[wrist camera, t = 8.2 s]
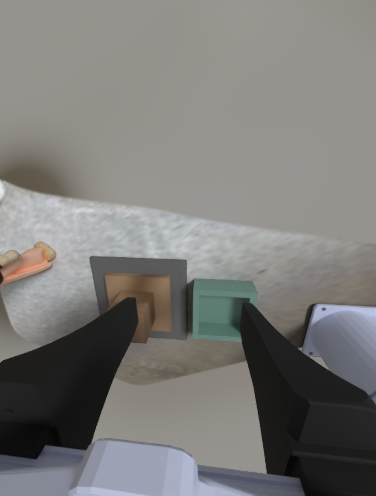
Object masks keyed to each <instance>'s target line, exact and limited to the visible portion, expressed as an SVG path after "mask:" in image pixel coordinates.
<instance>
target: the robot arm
mask: <svg viewBox="0 0 376 496" xmlns="http://www.w3.org/2000/svg"><path fill="white" fill-rule="evenodd" d="M322 308H323V309H322ZM138 322H139V320H138V312H137V304H136V297H127V298H125V299H124V300H122V301H121V302H119V303H118V304H117V305H115V306H114V307H112V308H111V309H110V310H108V311H107V312H105V313H104V314H103V315H101V316H99V317H98V318H96V319H95V320H93V321H92V322H90V323H89V324H87V325H85V326H84V327H82V328H80V329H78V330H76V331H75V332H73V333H71V334H69V335H67V336H65V337H63V338H60V339H58V340H56V341H54V342H52V343H50V344H47V345H45V346H42V347H40V348H37V349H35V350H32V351H29V352H27V353H24V354H21V355H18V356H15V357H12V358H9V359H6V360H3V361H2V362H1V363H0V496H376V307H367V306H349V305H331V304H316V305H314V307H313V310H312V314H311V318H310V322H309V325H308V329H307V333H306V336H305V340H304V344H303V348H302V352H301V351H300V350H299V349H298V348H296V347H295V346H294V345H293V344H291V343H290V342H289V341H288V340H287V339H286V338H284V337H283V336H282V335H281V334H280V333H279V332H278V331H277V330H276V329H275V328H274V327H273V326H272V325H271V324H270V323H269V322H268V321H267V320H266V318H265V317H264V316H263V315H262V314H261V313H260V312H259V311H258V309H257V308H256V307H255V306H254V305H253V304H252V303H242V312H241V321H240V333H241V339H242V345H243V349H244V352H245V356H246V360H247V363H248V367H249V371H250V375H251V378H252V383H253V386H254V393H255V398H256V404H257V410H258V415H259V422H260V428H261V435H262V441H263V448H264V455H265V462H266V470H267V474H263V473H255V472H248V471H240V470H233V469H225V468H217V467H209V466H202V465H196V462H195V460H194V458H193V457H192V456H191V455H190V454H189V453H187V452H186V451H184V450H183V449H180V448H177V447H173V446H169V445H160V444H153V443H144V442H136V441H128V440H120V439H110V438H109V439H99V440H97V441H95V442H94V443H92V444H91V442H92V439H93V436H94V432H95V429H96V426H97V423H98V420H99V417H100V414H101V411H102V409H103V406H104V403H105V400H106V397H107V395H108V392H109V389H110V386H111V384H112V381H113V379H114V376H115V374H116V371H117V369H118V367H119V365H120V363H121V361H122V359H123V357H124V355H125V353H126V351H127V349H128V347H129V345H130V343H131V341H132V339H133V336H134V334H135V331H136V328H137V325H138ZM308 356H315V357H322V359H323V360H324V362H325V363H326V365H327V366H328V368H329V370H330V371H329V370H327V369H326V368H324V367H322V366H321V365H320V364H318V363H317V362H315V361H314V360H312V359H311V358H310V357H308Z"/></svg>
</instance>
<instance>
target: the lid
mask: <svg viewBox="0 0 376 496" xmlns="http://www.w3.org/2000/svg"><path fill="white" fill-rule="evenodd" d="M104 276H105V282H106V288H107V294H108V300H109V306H110V307H109V308H108V309H107V311H108V310H110V309H111V308H112V307H114V306H115V305H117V304H118V303H119V302H121V301H122V300H124V299H125V298H127V297H136V304H137V312H138V320H139V322H138V325H137V328H136V331H135V334H134V336H133V339H132V341H131V342H133V343H146V342H147V340H148V337H149V334H150V332H151V331H165V332H171V329H172V315H171V285H170V275H151V274H130V273H106V274H105V275H104ZM107 311H106V312H107Z"/></svg>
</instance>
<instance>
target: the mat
mask: <svg viewBox="0 0 376 496" xmlns="http://www.w3.org/2000/svg"><path fill="white" fill-rule="evenodd" d="M90 262H91V267H92V273H93V278H94V283H95V289H96V294H97V299H98V304H99V310H100V315H103V314H104V313H105V312H106V311H107V309H108V308H109V307H110V306H109V300H108V294H107V288H106V282H105V276H104V275H105V274H106V273H130V274H151V275H170V285H171V315H172V329H171V332H165V331H151V332H150V334H149V337H152V338H165V339H179V340H186V339H187V260H179V259H152V258H125V257H99V256H91V257H90Z"/></svg>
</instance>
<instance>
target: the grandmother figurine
mask: <svg viewBox="0 0 376 496" xmlns="http://www.w3.org/2000/svg"><path fill="white" fill-rule="evenodd" d="M55 257H56V253H55V251H54V250H53V249H52V248H51V247H49V246H48V245H46V244H45V243H44V242H38V243H36V244H35V246H34V248H32V249H30V250H28V251H26V252H24V253H23V254H21V255H19V253H18V252H17V251H14V250H10V251H8V252H6V253H5V254H4V255H0V286H3V285H6V284H8V283H11V282H14V281H17V280H20V279H23V278H25V277H28V276H31V275H34V274H37V273H39V272H42V271H44V270H47V269H49V268H50V267H51V265H52V264H51V263H50V262H48V261H52V260H54V259H55Z"/></svg>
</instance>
